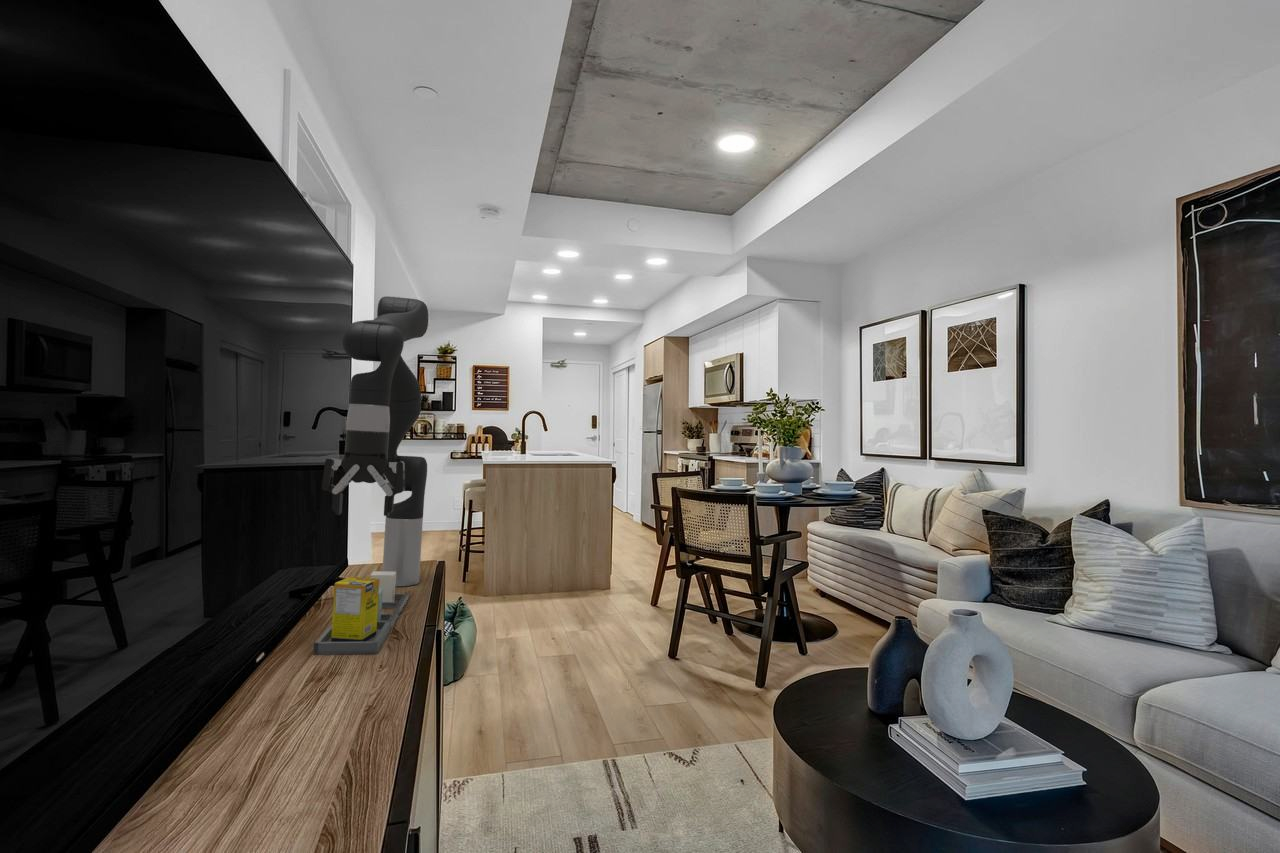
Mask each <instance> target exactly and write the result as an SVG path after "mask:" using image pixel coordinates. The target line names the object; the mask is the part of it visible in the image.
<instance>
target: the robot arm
mask: <svg viewBox="0 0 1280 853" xmlns="http://www.w3.org/2000/svg"><path fill="white" fill-rule="evenodd" d="M376 312H377V313H376V317H375V318H374V319H365V320H357V321H355V322H354V321H353V322H352V323H350V324H349V325H348V326H347V327H346V328H345V330H344V331H343V334H342V338H341V339H342V340H341V345H342V348H343V350H344V352H345V354H347V356H348V357H350V358H351V359H353V360H355V361H356V360H357V361H364V362H365V361H366V362H378V363H379V366H377V368H376V369H375V370H373V371H369V372H367V371H366V372H360V373H356V374H354V375H352V377H351V380H350V387H349V388H350V390H349V405H348V410H347V415H346V416H347V417H346V422H345V428H346V430H345V443H344V444H345V445H344V456H343V458H342V459H337V458H334V457H328V458H326V459H325V461H324V469H323V475H322V476H323V477H322V483H321V489H322V491H325V492H326V491H327V492H329V493H331V494H332V499H331V500H332V501H331V502H332V503H331V509H332V512H334V514H335V515H337V516H339V515H342V513H343V501H344V500H343V499H344V493H342V492H343V491H344V490H345V489H346V487H347V486H348V485H350V483H351V482H354V484H355V483H357V484H359V483H366V484H375V483H377V484H378V486H379V487H380V488H381V489H382V491H383V492H384V493H385V496H384V504H383V505H384V506H383V516H384V517H385V525H384V540H383V541H384V542H383V553H382V554H383V556H382V568H381V569H382V570H381V571H385V572H396V586H395V587H409V586H415V585H417V584H419V583H420V570H421V569H420V568H421V557H422V556H421V555H422V540H423V538H422V537H423V523H424V522H423V520H424V509H425V508H424V507H425V506H424V505H425V495H426V494H425V493H426V487H427V486H426V485H427V477H428V463H427V460H426V457H423V456H413V455H398V448H399V446H400V444H401V442H402V440H403V439H404V437H405V436H406V435H407V433H408V432H409V431H410V430H411V428H412V427H413V426H414V425H415V424H416V422H417V420H418V419H419V417H420V415H421V411H422V388H421V385H420V382H419V380H418V378H417V377H416V376H415V375H414V373H413V371H412V370H411V369H410V367H409V365H407V363H406V361H405V360H404V358H403V357H402V352H403V349H404V344H405V342H407V341H409V340H412V339H417V338H421V337H423V336H425V334H426V332H427V331H428V327H429V308H428V305H426V303H425V302H424V301H422V300H421V299H416V298H408V297H400V296H399V297H398V296H383V297H381V298H380V299H379V301H378V304H377V308H376ZM340 466H341V467H342V470H344V472H345V474H344V476H343V477H342V478H341V479H340V480H339V481H338V483H336V485H335V484H333V483H334V476H335V471H337V470H338V469H339V467H340ZM403 492H411V495H410V496H409V497H407V498H405V499H404V500H402V501H399V502H397V503H395V502H394V501H395V495H397V494H402V493H403Z"/></svg>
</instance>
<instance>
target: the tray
mask: <svg viewBox="0 0 1280 853" xmlns="http://www.w3.org/2000/svg"><path fill="white" fill-rule="evenodd" d="M390 632H391V630H390V621H388V620H386V621H377V630H376V635H375V636H373V637H371V638H370V639H368V640H367V641H365V642H331V635H332V623H331V624H330V625H329V626H328V627H327V628H326V629H325V631H323V633H322V634H321V635H320V636H319V637H318V638H317V639H316V641H315V642H314V643H313V651H312V652H313V653H312V654H313V655H315V656H318V655H319V656H321V655H325V656H326V655H327V656H329V655H331V656H332V655H377V654H378V652H379V650H380V649H381V647H382V645H383V644H384V642H385V640H386V639H387V637H388V635H389V634H390Z"/></svg>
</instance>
